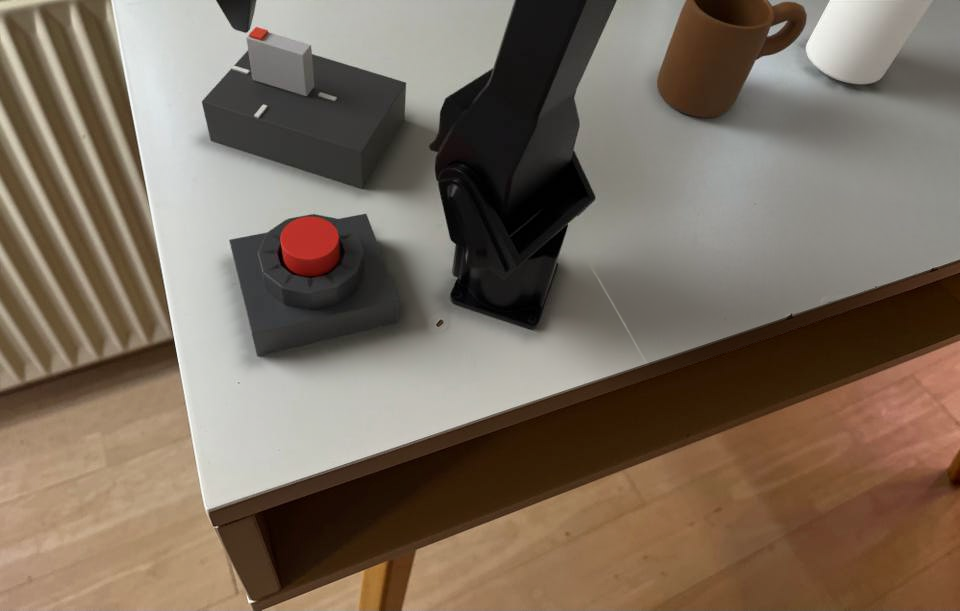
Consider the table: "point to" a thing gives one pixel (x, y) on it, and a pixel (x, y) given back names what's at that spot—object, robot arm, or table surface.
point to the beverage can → (862, 37)
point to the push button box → (314, 288)
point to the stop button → (310, 246)
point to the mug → (722, 50)
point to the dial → (280, 61)
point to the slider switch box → (310, 119)
